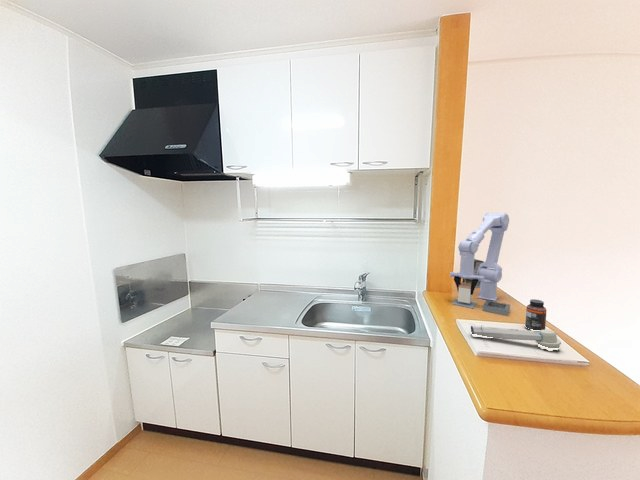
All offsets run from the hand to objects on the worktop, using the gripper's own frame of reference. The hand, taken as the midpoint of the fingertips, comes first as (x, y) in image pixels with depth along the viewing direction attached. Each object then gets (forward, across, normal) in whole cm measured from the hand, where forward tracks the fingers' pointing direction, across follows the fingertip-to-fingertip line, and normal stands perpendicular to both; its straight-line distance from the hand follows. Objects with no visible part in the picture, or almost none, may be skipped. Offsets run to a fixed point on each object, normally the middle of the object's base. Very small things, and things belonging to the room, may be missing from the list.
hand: (465, 293), depth 129 cm
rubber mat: (+5, 0, 0) cm, 5 cm away
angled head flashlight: (+6, +22, -32) cm, 39 cm away
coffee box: (+6, -4, +38) cm, 39 cm away
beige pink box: (+4, 0, 0) cm, 4 cm away
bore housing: (+5, +13, 0) cm, 14 cm away
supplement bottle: (+6, +27, -14) cm, 31 cm away
